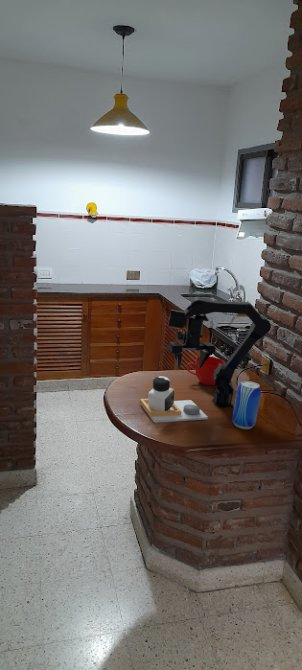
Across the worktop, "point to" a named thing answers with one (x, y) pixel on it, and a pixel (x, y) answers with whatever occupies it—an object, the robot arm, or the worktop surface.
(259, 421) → the worktop surface
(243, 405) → the beer can
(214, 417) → the worktop surface
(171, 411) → the plate with orange frame
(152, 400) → the medicine bottle
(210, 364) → the ceramic cup
